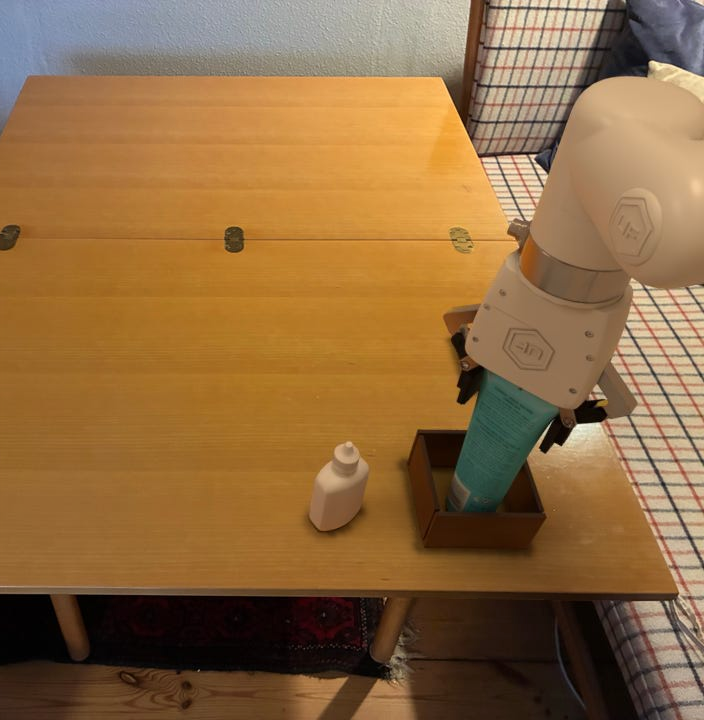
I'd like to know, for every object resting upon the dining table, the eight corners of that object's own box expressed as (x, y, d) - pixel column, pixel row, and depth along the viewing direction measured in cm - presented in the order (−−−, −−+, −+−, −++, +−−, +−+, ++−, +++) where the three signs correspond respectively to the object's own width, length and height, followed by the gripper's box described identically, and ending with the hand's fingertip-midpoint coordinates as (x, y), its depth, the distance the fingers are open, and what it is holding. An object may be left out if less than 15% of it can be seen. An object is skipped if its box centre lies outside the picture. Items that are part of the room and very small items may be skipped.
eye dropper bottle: (305, 496, 74) (315, 426, 65) (357, 494, 74) (374, 424, 66) (310, 533, 71) (322, 465, 62) (364, 530, 71) (384, 462, 63)
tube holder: (500, 463, 77) (517, 430, 73) (527, 548, 70) (547, 517, 65) (406, 462, 77) (417, 429, 73) (423, 547, 70) (436, 515, 66)
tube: (512, 515, 72) (578, 389, 58) (487, 544, 69) (550, 420, 56) (450, 472, 75) (499, 345, 62) (425, 498, 73) (469, 372, 60)
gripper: (442, 234, 52) (401, 391, 65) (683, 344, 44) (583, 501, 56) (492, 194, 56) (444, 351, 69) (723, 288, 47) (621, 447, 60)
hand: (507, 417), depth 62 cm, fingers closed on tube, 7 cm apart
